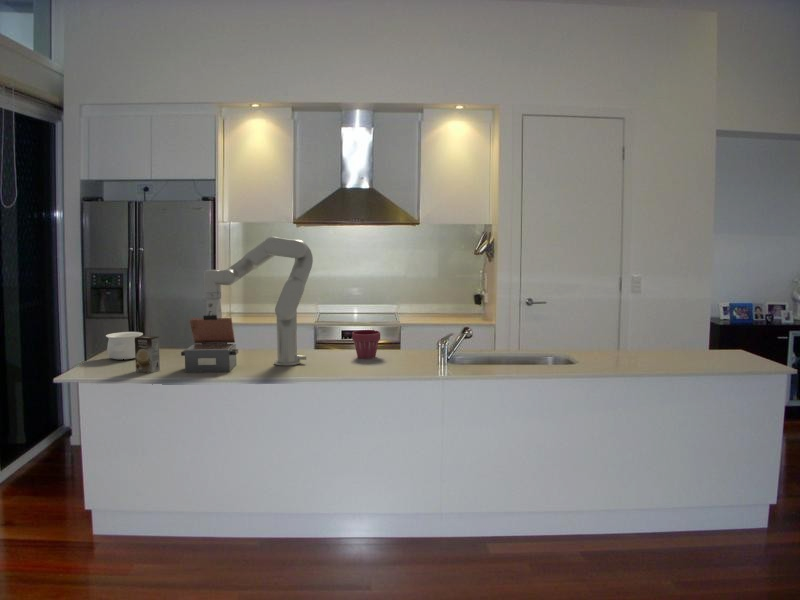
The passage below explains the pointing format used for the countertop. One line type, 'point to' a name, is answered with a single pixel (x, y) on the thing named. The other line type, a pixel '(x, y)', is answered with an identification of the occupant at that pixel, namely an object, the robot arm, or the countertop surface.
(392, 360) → the countertop surface
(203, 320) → the lid
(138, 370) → the coffee box
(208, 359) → the cooker base
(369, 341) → the plant pot
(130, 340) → the pot
